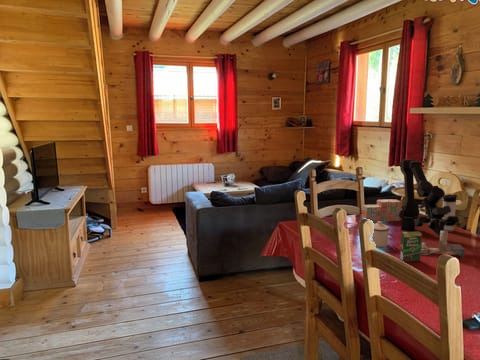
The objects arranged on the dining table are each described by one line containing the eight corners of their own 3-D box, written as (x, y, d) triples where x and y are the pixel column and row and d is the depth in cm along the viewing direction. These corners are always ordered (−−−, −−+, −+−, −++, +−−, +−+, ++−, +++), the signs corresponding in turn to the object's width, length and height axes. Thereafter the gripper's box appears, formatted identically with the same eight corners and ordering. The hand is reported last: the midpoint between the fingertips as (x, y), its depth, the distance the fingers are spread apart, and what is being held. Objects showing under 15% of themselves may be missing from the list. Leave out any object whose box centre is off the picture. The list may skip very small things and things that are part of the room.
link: (418, 252, 169) (420, 231, 167) (416, 249, 173) (418, 228, 171) (457, 256, 164) (459, 234, 162) (454, 252, 169) (456, 230, 167)
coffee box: (401, 261, 160) (403, 233, 158) (399, 259, 163) (401, 231, 161) (420, 261, 160) (422, 233, 158) (417, 259, 163) (419, 231, 161)
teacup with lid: (388, 242, 185) (389, 220, 182) (387, 248, 176) (389, 225, 174) (363, 239, 189) (364, 217, 187) (362, 245, 181) (363, 222, 179)
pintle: (415, 254, 169) (416, 244, 168) (415, 249, 175) (416, 239, 174) (431, 256, 166) (431, 246, 165) (430, 251, 172) (431, 241, 171)
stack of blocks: (365, 222, 219) (366, 202, 216) (361, 219, 225) (362, 200, 223) (400, 221, 220) (401, 201, 218) (395, 218, 226) (396, 199, 224)
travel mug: (455, 232, 198) (459, 196, 195) (442, 231, 199) (445, 196, 196) (451, 228, 204) (455, 194, 201) (438, 228, 206) (442, 193, 202)
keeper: (450, 257, 165) (451, 248, 164) (446, 252, 171) (447, 243, 170) (463, 258, 163) (464, 249, 163) (459, 253, 169) (460, 244, 169)
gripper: (419, 200, 171) (429, 230, 162) (458, 199, 171) (471, 229, 162) (410, 211, 180) (419, 240, 171) (447, 211, 180) (459, 239, 171)
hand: (442, 237), depth 169 cm, fingers closed
